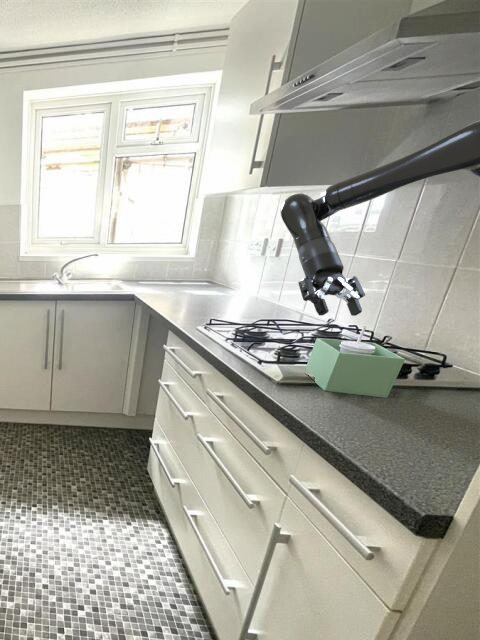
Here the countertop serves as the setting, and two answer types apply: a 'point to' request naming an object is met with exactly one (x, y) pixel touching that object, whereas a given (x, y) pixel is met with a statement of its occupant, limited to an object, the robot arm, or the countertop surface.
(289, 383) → the countertop surface
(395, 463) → the countertop surface
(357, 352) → the smoothie
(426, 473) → the countertop surface
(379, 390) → the bin
